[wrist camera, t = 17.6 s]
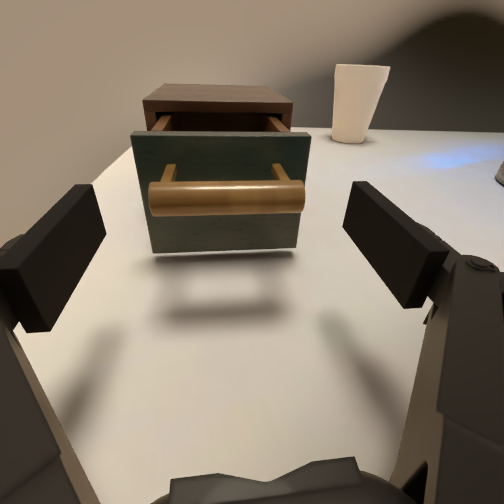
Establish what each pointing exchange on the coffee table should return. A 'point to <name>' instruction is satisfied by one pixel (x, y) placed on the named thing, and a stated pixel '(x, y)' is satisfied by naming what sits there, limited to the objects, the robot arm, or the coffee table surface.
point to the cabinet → (215, 101)
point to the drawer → (221, 181)
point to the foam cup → (356, 100)
